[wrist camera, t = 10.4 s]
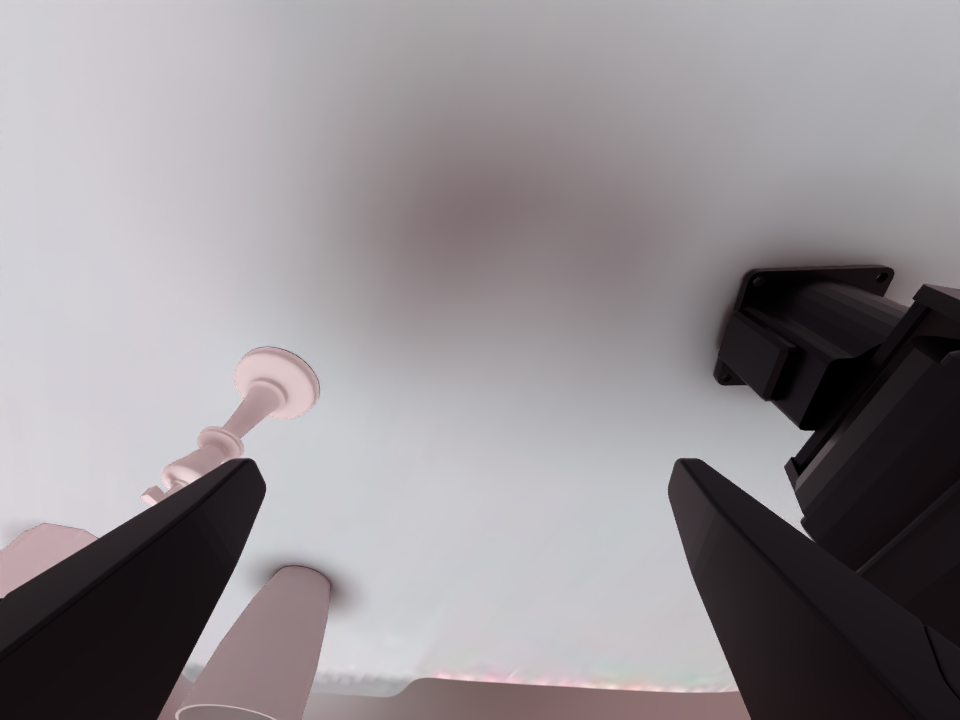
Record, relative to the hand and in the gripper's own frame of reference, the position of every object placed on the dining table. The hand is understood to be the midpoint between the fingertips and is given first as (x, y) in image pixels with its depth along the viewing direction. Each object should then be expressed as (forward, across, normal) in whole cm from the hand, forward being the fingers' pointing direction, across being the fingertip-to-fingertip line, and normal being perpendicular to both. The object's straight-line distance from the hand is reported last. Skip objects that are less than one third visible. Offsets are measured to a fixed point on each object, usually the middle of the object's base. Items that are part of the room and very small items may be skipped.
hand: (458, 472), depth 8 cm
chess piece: (+13, +13, +6) cm, 19 cm away
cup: (+13, +18, +28) cm, 36 cm away
